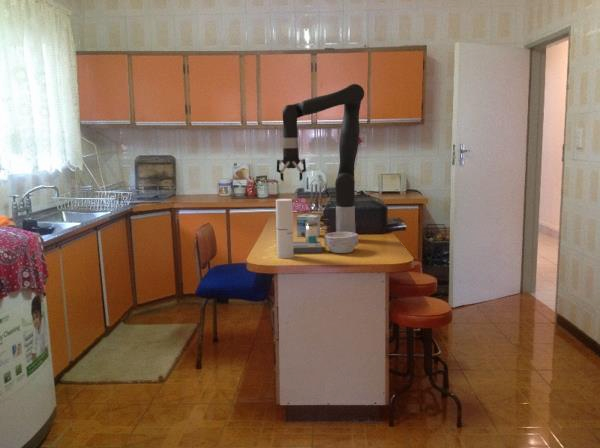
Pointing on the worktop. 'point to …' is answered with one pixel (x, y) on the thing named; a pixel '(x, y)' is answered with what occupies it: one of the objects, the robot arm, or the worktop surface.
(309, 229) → the tea tin
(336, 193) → the robot arm
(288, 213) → the cylindrical container
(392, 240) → the worktop surface
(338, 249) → the paper bowls
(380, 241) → the worktop surface
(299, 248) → the display shelf
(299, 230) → the light bulb box
